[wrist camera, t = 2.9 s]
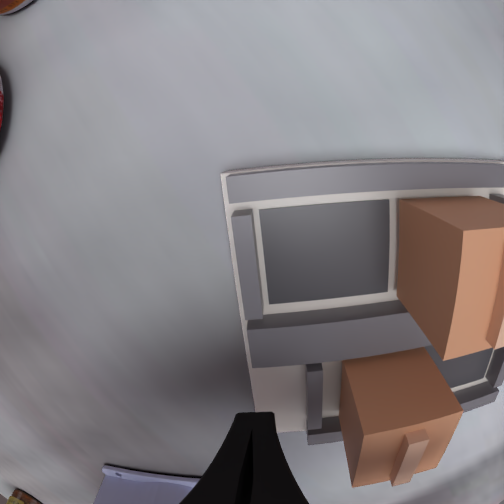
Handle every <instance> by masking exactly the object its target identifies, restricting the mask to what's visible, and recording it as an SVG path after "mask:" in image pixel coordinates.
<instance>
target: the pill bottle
mask: <svg viewBox="0 0 504 504" xmlns="http://www.w3.org/2000/svg"><path fill="white" fill-rule="evenodd" d="M32 1H33V0H0V15H5V14H10V13H13V12H15V11H17V10H19V9H21V8H23V7H24V6H26V5H27V4H29V3H30V2H32Z"/></svg>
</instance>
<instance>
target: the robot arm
mask: <svg viewBox="0 0 504 504" xmlns="http://www.w3.org/2000/svg"><path fill="white" fill-rule="evenodd" d="M102 471H103V473H104V474H105V477H104V480H103V482H102V484H101V487H100V489H99V491H98V494H97V496H96V498H95V501H94V503H93V504H309V503H308V501H307V500H306V498H305V496H304V495H303V493H302V491H301V490H300V488H299V486H298V484H297V482H296V480H295V478H294V476H293V474H292V472H291V470H290V468H289V466H288V463H287V461H286V459H285V456H284V453H283V451H282V448H281V445H280V442H279V439H278V435H277V431H276V422H275V414H274V413H273V412H271V411H270V412H248V413H237V414H236V415H235V418H234V421H233V423H232V426H231V428H230V430H229V432H228V434H227V436H226V438H225V440H224V442H223V444H222V446H221V448H220V449H219V451H218V453H217V455H216V456H215V458H214V460H213V461H212V463H211V464H210V466H209V467H208V469H207V470H206V472H205V473H204V475H203V476H202V477H201V479H198V478H186V477H176V476H167V475H159V474H151V473H145V472H138V471H133V470H127V469H122V468H117V467H112V466H107V465H104V466H103V467H102Z"/></svg>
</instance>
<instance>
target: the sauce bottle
mask: <svg viewBox="0 0 504 504" xmlns="http://www.w3.org/2000/svg"><path fill="white" fill-rule="evenodd" d="M6 504H42V503H40V502H39V501H37V500H36V499H34V498H33V497H32V496H30V495H28V494H26V493H25V492H23V491H21V490H17V489H16V490H14V492H13V494H12V496H10V497H9V499H8V501H7V503H6Z"/></svg>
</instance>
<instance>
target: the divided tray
mask: <svg viewBox="0 0 504 504" xmlns="http://www.w3.org/2000/svg"><path fill="white" fill-rule="evenodd" d="M220 175H221V183H222V190H223V198H224V205H225V213H226V220H227V227H228V235H229V242H230V249H231V256H232V263H233V270H234V277H235V284H236V290H237V297H238V304H239V311H240V317H241V324H242V330H243V337H244V343H245V350H246V356H247V362H248V369H249V375H250V381H251V387H252V393H253V399H254V405H255V411H256V412H270V411H271V412H273V413H274V414H275V422H276V431H277V433H281V432H295V431H306V430H307V440H308V445H314V444H323V443H331V442H338V441H343V436H342V431H341V426H340V421H339V407H340V394H341V379H342V360H347V359H355V358H362V357H368V356H375V355H381V354H387V353H393V352H399V351H404V350H409V349H415V348H420V347H425V349H426V350H427V352H428V354H429V355H430V357H431V358H432V360H433V361H434V363H435V364H436V366H437V368H438V369H439V371H440V372H441V374H442V375H443V377H444V379H445V380H446V382H447V384H448V385H449V387H450V388H451V390H452V392H453V393H454V395H455V397H456V398H457V400H458V402H459V404H460V405H461V407H462V409H463V410H464V411H463V413H464V412H467V411H470V410H472V409H475V408H478V407H481V406H484V405H486V404H489V403H492V402H494V401H495V399H496V397H497V395H498V392H499V390H498V388H497V387H498V386H501V385H502V383H503V380H504V347H501V348H498V349H495V350H494V349H493V348H489V349H485V350H482V351H479V352H475V353H472V354H468V355H464V356H461V357H457V358H453V359H449V360H445V361H443V360H442V359H441V357H440V356H439V354H438V353H437V351H436V350H435V348H434V347H433V345H432V344H431V343H430V341H429V340H428V338H427V337H426V336H425V334H424V333H423V331H422V330H421V329H420V327H419V326H418V324H417V323H416V322H415V320H414V319H413V317H412V316H411V315H410V313H409V312H408V311H407V309H406V308H405V307H404V305H403V304H402V303H401V301H400V300H399V299H398V297H397V296H396V294H397V280H398V261H399V199H414V198H434V197H460V196H482V197H485V198H488V199H491V200H494V201H497V202H499V203H502V204H504V161H500V160H480V159H443V158H406V159H368V160H346V161H329V162H314V163H301V164H289V165H278V166H267V167H258V168H249V169H240V170H231V171H225V172H223V173H221V174H220Z"/></svg>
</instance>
